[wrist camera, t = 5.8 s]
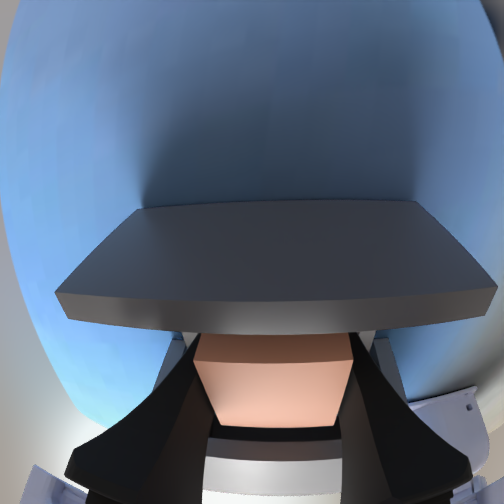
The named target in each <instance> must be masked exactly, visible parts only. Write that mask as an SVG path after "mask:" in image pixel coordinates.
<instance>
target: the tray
mask: <svg viewBox="0 0 504 504" xmlns="http://www.w3.org/2000/svg"><path fill="white" fill-rule="evenodd" d="M497 288H498V286H497V284H496V283H495V282H494V281H493V280H492V278H491V277H490V276H489V275H488V274H487V272H486V271H485V270H484V269H483V268H482V267H481V265H480V264H479V263H478V262H477V261H476V260H475V259H474V258H473V257H472V255H471V254H470V253H469V252H468V251H467V250H466V249H465V248H464V247H463V246H462V245H461V244H460V243H459V242H458V241H457V240H456V239H455V238H454V237H453V236H452V235H451V234H450V233H449V232H448V231H447V230H446V229H445V228H444V227H443V226H442V225H441V224H440V223H439V222H438V221H437V220H436V219H435V218H434V217H433V216H432V215H431V214H429V213H428V212H427V211H426V210H425V209H424V208H423V207H422V206H421V205H419V204H418V203H417V202H416V201H388V200H279V201H249V202H227V203H209V204H193V205H179V206H166V207H155V208H143V209H137V210H136V211H135V212H133V213H132V214H131V215H130V216H129V217H128V218H127V219H126V220H125V221H123V222H122V223H121V224H120V225H119V226H118V227H117V228H116V229H115V230H114V231H113V232H112V233H111V234H110V235H109V236H108V237H106V238H105V239H104V240H103V241H102V242H101V243H100V244H99V245H98V246H97V247H96V248H95V249H94V250H93V251H92V252H91V253H90V254H89V255H88V256H87V257H86V258H85V259H84V260H83V261H82V263H81V264H80V265H79V266H78V267H77V268H76V269H75V270H74V271H73V272H72V273H71V274H70V275H69V276H68V277H67V279H66V280H65V281H64V282H63V283H62V284H61V285H60V286H59V287H58V289H57V290H56V291H55V294H56V296H57V298H58V300H59V302H60V304H61V306H62V308H63V310H64V312H65V314H66V316H67V317H68V319H73V320H79V321H85V322H92V323H99V324H107V325H114V326H123V327H132V328H141V329H151V330H163V331H176V332H182V335H183V338H184V340H185V343H186V346H187V349H188V347H189V346H190V344H191V343H192V341H193V340H194V338H195V337H196V335H197V334H198V333H209V334H238V335H301V334H329V333H347V332H357V333H358V335H359V337H360V339H361V340H362V342H363V344H364V345H365V347H366V349H367V350H368V352H369V351H370V348H371V345H372V342H373V339H374V336H375V333H376V330H386V329H396V328H405V327H414V326H422V325H430V324H437V323H444V322H450V321H457V320H463V319H468V318H474V317H479V316H484V315H485V314H486V312H487V310H488V308H489V306H490V304H491V301H492V299H493V297H494V295H495V292H496V290H497Z"/></svg>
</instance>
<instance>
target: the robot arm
mask: <svg viewBox="0 0 504 504" xmlns="http://www.w3.org/2000/svg"><path fill="white" fill-rule="evenodd" d="M201 334H202V333H198V334H197V335H196V337H195V338H194V340H193V341H192V343H191V344H190V346H189V347H188V349H187V350H186V351H185V353H184V354H183V355H182V357H181V358H180V359H179V361H178V362H177V363H176V365H175V366H174V367H173V369H172V370H171V371H170V372H169V373H168V375H167V376H166V377H165V378H164V379H163V380H162V382H161V383H160V384H159V385H158V386H157V387H156V388H155V389H154V391H153V392H152V393H151V394H150V395H149V396H148V397H147V398H146V399H145V400H144V401H143V402H142V403H140V404H139V405H138V406H137V407H136V408H135V409H134V410H133V411H131V412H130V413H129V414H128V415H127V416H126V417H124V418H123V419H122V420H120V421H119V422H118V423H116V424H115V425H113V426H112V427H111V428H109V429H108V430H106V431H105V432H103V433H102V434H100V435H99V436H97V437H95V438H93V439H92V440H90V441H88V442H87V443H84V444H83V445H81V446H79V447H77V448H75V449H74V450H73V452H72V455H71V457H70V459H69V462H68V465H67V468H66V470H65V473H64V475H65V477H66V478H68V479H70V480H72V481H74V482H75V483H77V484H79V485H81V486H83V487H85V488H87V489H89V492H88V494H86V493H84V491H82V490H80V489H78V488H76V487H73V486H72V485H70V484H68V483H66V482H64V481H62V480H60V479H59V478H57V477H55V476H53V475H52V474H50V473H48V472H47V471H45V470H43V469H42V468H40V467H38V466H37V465H33V468H32V470H31V473H30V476H29V478H28V481H27V484H26V486H25V489H24V492H23V495H22V498H21V501H20V504H202V490H203V478H204V468H205V459H206V451H207V444H208V437H209V432H210V428H211V424H212V420H213V416H214V412H215V411H214V408H213V406H212V404H211V402H210V400H209V397H208V395H207V393H206V390H205V388H204V386H203V383H202V381H201V379H200V376H199V374H198V371H197V369H196V367H195V364H194V362H193V359H194V356H195V353H196V350H197V347H198V343H199V340H200V337H201ZM348 335H349V340H350V345H351V350H352V355H353V363H352V367H351V371H350V374H349V378H348V381H347V385H346V388H345V392H344V395H343V398H342V401H341V404H340V407H339V410H338V417H339V423H340V429H341V438H342V487H341V502H340V504H504V477H502V478H500V479H499V480H497V481H495V482H494V483H492V484H490V485H488V486H487V482H486V479H485V477H483V476H480V475H477V476H475V477H474V478H473V474H474V473H476V472H477V471H479V470H480V469H481V468H482V467H483V466H484V464H485V463H486V461H487V458H488V455H489V437H488V434H487V430H486V427H485V424H484V421H483V418H482V415H481V412H480V409H479V407H478V404H477V401H476V399H475V396H474V393H475V392H476V391H477V387H476V386H473V387H470V388H467V389H464V390H460V391H457V392H453V393H450V394H446V395H442V396H439V397H435V398H430V399H426V400H422V401H417V402H413V403H408V405H407V404H406V403H405V402H404V401H403V399H402V398H401V397H400V396H399V395H398V393H397V392H396V391H395V390H394V388H393V387H392V386H391V384H390V383H389V382H388V380H387V379H386V377H385V376H384V375H383V373H382V372H381V370H380V369H379V367H378V366H377V364H376V363H375V361H374V360H373V358H372V357H371V355H370V354H369V352H368V350H367V349H366V347H365V345H364V344H363V342H362V340H361V339H360V337H359V335H358V333H357V332H348Z"/></svg>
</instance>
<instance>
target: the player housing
mask: <svg viewBox="0 0 504 504" xmlns="http://www.w3.org/2000/svg"><path fill="white" fill-rule="evenodd" d="M186 350H187V346H186V343H185V341H183V340H171V343H170V345H169V348H168V351H167V353H166V356H165V358H164V361H163V364H162V366H161V369H160V372H159V374H158V377H157V380H156V382H155V385H154V388H153V391H154V389H155V388H156V387H157V386H158V385H159V384H160V383H161V382H162V380H163V379H164V378H165V377H166V376H167V375H168V373H169V372H170V371H171V370H172V369H173V367H174V366H175V365H176V363H177V362H178V361H179V359H180V358H181V357H182V355H183V354H184V353H185V351H186ZM369 354H370V355H371V357H372V358H373V360H374V361H375V363H376V364H377V366H378V367H379V369H380V370H381V372H382V373H383V375H384V376H385V377H386V379H387V380H388V382H389V383H390V384H391V386H392V387H393V388H394V390H395V391H396V392H397V393H398V395H399V396H400V397H401V398H402V399H403V401H404V402H405V403H406V404H407V405H408V402H407V398H406V395H405V391H404V387H403V384H402V380H401V377H400V374H399V370H398V367H397V364H396V361H395V357H394V354H393V351H392V348H391V345H390V342H389V339H388V338H382V339H373V342H372V345H371V348H370V351H369ZM153 391H152V392H153ZM341 487H342V438H341V429H340V423H339V417H338V416H336V419H335V422H334V425H333V426H319V427H295V428H267V427H242V426H228V425H221V424H220V421H219V419H218V417H217V415H215V414H214V416H213V420H212V424H211V428H210V432H209V437H208V444H207V451H206V459H205V468H204V478H203V490H208V491H215V492H223V493H233V494H244V495H260V496H305V495H321V494H333V493H341Z"/></svg>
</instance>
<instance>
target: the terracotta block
mask: <svg viewBox="0 0 504 504" xmlns="http://www.w3.org/2000/svg"><path fill="white" fill-rule="evenodd" d="M193 362H194V364H195V367H196V369H197V371H198V374H199V376H200V379H201V381H202V383H203V386H204V388H205V390H206V393H207V395H208V397H209V400H210V402H211V404H212V406H213V408H214V411H215V413H216V415H217V417H218V419H219V421H220V424H221V425H228V426H242V427H267V428H295V427H319V426H333V425H334V422H335V419H336V416H337V413H338V410H339V407H340V404H341V401H342V398H343V395H344V392H345V388H346V385H347V381H348V378H349V374H350V371H351V367H352V363H353V355H352V350H351V345H350V340H349V335H348V332H347V333H329V334H301V335H238V334H209V333H202V334H201V337H200V340H199V343H198V347H197V350H196V353H195V356H194V359H193Z"/></svg>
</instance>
